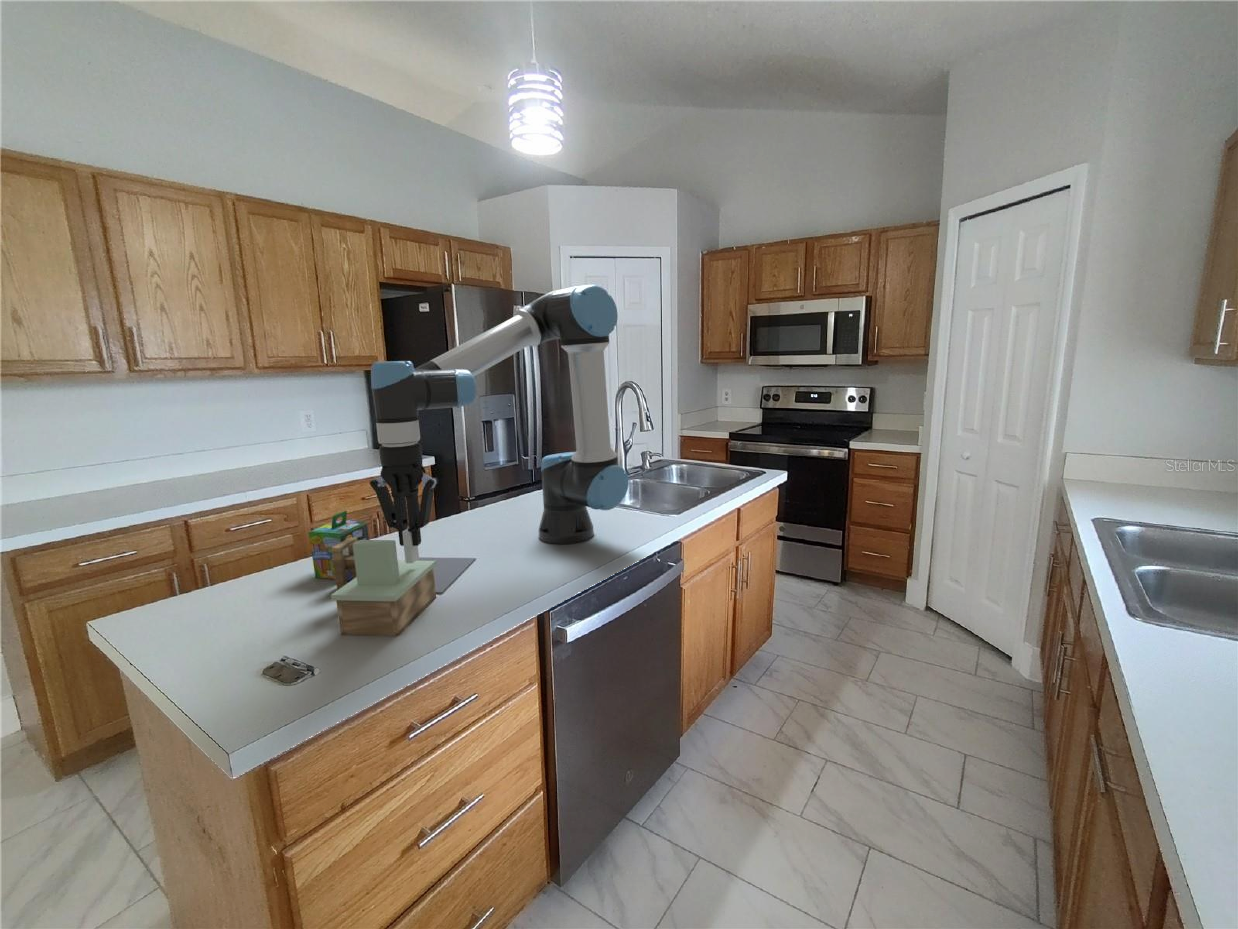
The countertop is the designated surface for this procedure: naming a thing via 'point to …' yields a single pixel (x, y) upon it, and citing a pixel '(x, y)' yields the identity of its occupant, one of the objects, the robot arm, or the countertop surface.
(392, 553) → the lid
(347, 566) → the brown wooden bar
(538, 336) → the robot arm
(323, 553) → the chalk box
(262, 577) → the countertop surface
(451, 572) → the mat
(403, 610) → the wooden storage box
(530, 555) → the countertop surface
